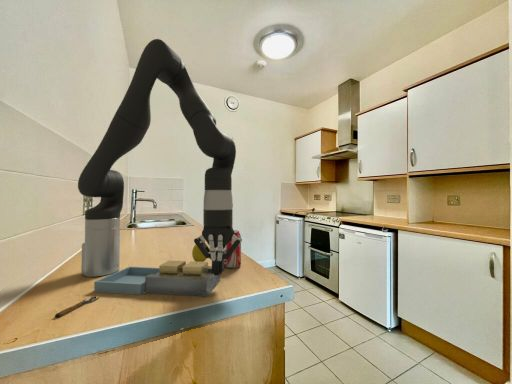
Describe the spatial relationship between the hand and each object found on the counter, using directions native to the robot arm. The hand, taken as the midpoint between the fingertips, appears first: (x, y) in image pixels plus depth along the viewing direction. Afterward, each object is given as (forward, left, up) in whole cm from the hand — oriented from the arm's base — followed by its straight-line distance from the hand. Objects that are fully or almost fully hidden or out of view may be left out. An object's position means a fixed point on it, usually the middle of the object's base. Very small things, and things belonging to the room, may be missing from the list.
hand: (218, 274), depth 55 cm
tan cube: (-13, 0, -1) cm, 13 cm away
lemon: (-13, +19, -4) cm, 23 cm away
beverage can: (-1, +18, -4) cm, 18 cm away
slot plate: (-9, 0, -4) cm, 10 cm away
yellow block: (-6, 0, -1) cm, 6 cm away
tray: (-24, 0, -4) cm, 24 cm away
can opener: (-27, -13, -4) cm, 30 cm away
